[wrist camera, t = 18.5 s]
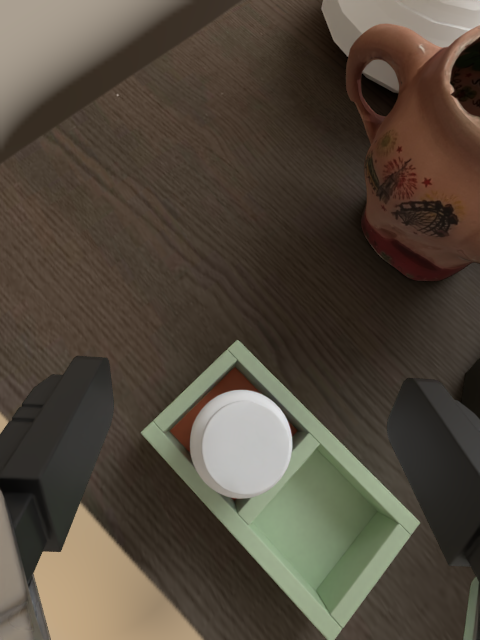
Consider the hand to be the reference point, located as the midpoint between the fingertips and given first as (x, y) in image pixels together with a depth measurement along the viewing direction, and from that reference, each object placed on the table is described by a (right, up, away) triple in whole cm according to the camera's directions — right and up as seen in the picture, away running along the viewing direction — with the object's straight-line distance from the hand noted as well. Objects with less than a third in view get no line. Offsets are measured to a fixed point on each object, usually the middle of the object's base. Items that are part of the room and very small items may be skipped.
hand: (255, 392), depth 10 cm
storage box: (+2, -9, +15) cm, 18 cm away
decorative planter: (+13, +11, +22) cm, 28 cm away
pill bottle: (-1, -6, +15) cm, 17 cm away
